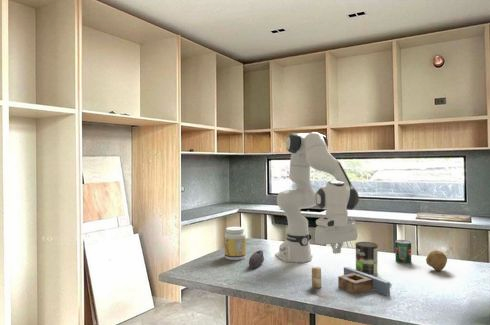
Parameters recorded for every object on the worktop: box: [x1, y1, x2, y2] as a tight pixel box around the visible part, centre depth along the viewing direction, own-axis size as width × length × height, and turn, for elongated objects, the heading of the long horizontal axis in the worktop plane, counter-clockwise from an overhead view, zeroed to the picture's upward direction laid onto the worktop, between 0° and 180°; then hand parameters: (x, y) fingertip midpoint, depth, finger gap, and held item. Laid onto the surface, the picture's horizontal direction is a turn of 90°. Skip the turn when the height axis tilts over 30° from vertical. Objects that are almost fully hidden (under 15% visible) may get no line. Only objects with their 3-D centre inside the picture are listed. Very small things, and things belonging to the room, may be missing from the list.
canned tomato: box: [394, 239, 413, 265], centre depth 189 cm, size 8×8×11 cm
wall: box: [343, 266, 391, 296], centre depth 154 cm, size 24×2×5 cm, turn 29°
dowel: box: [311, 266, 322, 289], centre depth 154 cm, size 4×4×8 cm
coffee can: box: [354, 241, 379, 277], centre depth 171 cm, size 10×10×14 cm
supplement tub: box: [223, 226, 247, 261], centre depth 201 cm, size 12×12×17 cm
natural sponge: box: [425, 249, 448, 272], centre depth 173 cm, size 9×9×10 cm
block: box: [337, 273, 374, 295], centre depth 151 cm, size 10×10×4 cm
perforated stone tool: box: [248, 249, 265, 269], centre depth 184 cm, size 15×5×7 cm, turn 153°
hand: (336, 253), depth 147 cm, fingers closed
